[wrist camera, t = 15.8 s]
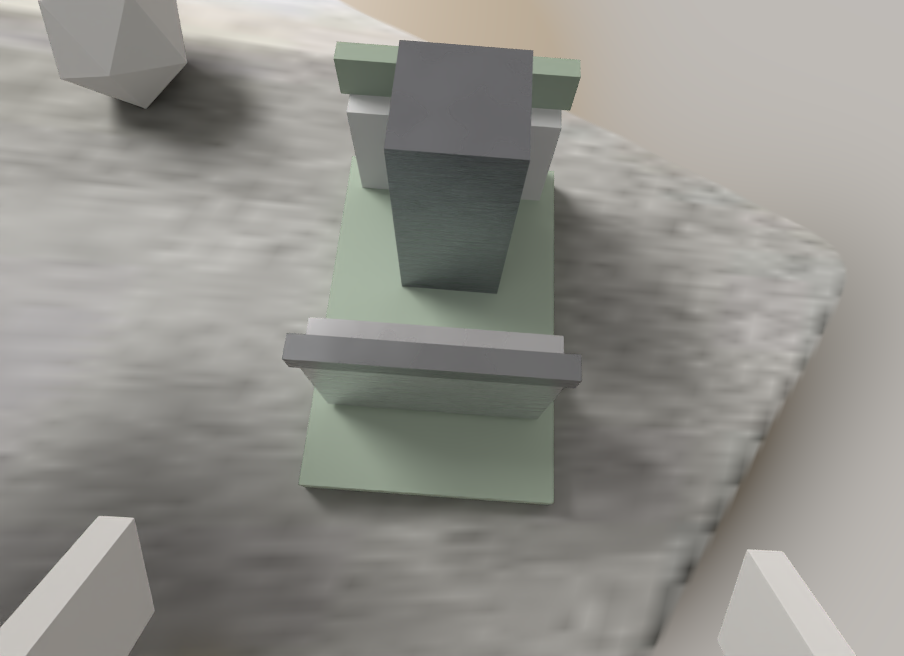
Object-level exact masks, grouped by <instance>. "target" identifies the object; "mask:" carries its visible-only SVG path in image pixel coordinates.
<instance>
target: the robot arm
mask: <svg viewBox="0 0 904 656" xmlns="http://www.w3.org/2000/svg"><path fill="white" fill-rule="evenodd" d="M154 612H155V609H154V604H153V600H152V595H151V590H150V586H149V581H148V577H147V572H146V568H145V563H144V559H143V554H142V550H141V545H140V541H139V536H138V532H137V527H136V523H135V518H132V517H113V516H98V517H97V518H96V519H95V520H94V522H93V523H92V524H91V525H90V526H89V527H88V528H87V530H86V531H85V532H84V533H83V534H82V535H81V536H80V538H79V539H78V540H77V541H76V542H75V543H74V544H73V546H72V547H71V548H70V549H69V550H68V551H67V552H66V554H65V555H64V556H63V557H62V558H61V559H60V560H59V561H58V563H57V564H56V565H55V566H54V567H53V568H52V569H51V571H50V572H49V573H48V574H47V575H46V576H45V577H44V579H43V580H42V581H41V582H40V583H39V584H38V585H37V587H36V588H35V589H34V590H33V591H32V592H31V593H30V594H29V596H28V597H27V598H26V599H25V600H24V601H23V602H22V604H21V605H20V606H19V607H18V608H17V609H16V610H15V612H14V613H13V614H12V615H11V616H10V617H9V618H8V620H7V621H6V622H5V623H4V624H3V625H2V626H1V627H0V656H128V655H129V653H130V651H131V650H132V648H133V647H134V645H135V643H136V642H137V640H138V638H139V637H140V635H141V633H142V632H143V630H144V628H145V627H146V625H147V623H148V622H149V620H150V618H151V617H152V615H153V613H154ZM717 641H718V643H719V645H720V647H721V650H722V652H723V654H724V656H856V654H855V653H854V651H853V650H852V649H851V647H850V646H849V644H848V643H847V641H846V640H845V639H844V637H843V636H842V634H841V633H840V632H839V630H838V629H837V627H836V626H835V624H834V623H833V622H832V620H831V619H830V617H829V616H828V615H827V613H826V612H825V610H824V609H823V607H822V606H821V605H820V603H819V602H818V600H817V599H816V598H815V596H814V595H813V594H812V592H811V590H810V589H809V588H808V586H807V585H806V583H805V582H804V581H803V579H802V578H801V576H800V575H799V574H798V572H797V571H796V569H795V568H794V566H793V565H792V564H791V562H790V561H789V559H788V558H787V556H786V555H785V554H784V552H783V551H769V550H749V549H747V551H746V554H745V557H744V560H743V563H742V566H741V569H740V572H739V575H738V578H737V581H736V584H735V588H734V590H733V593H732V597H731V600H730V602H729V605H728V609H727V612H726V615H725V618H724V621H723V623H722V627H721V630H720V633H719V636H718V639H717Z"/></svg>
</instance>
